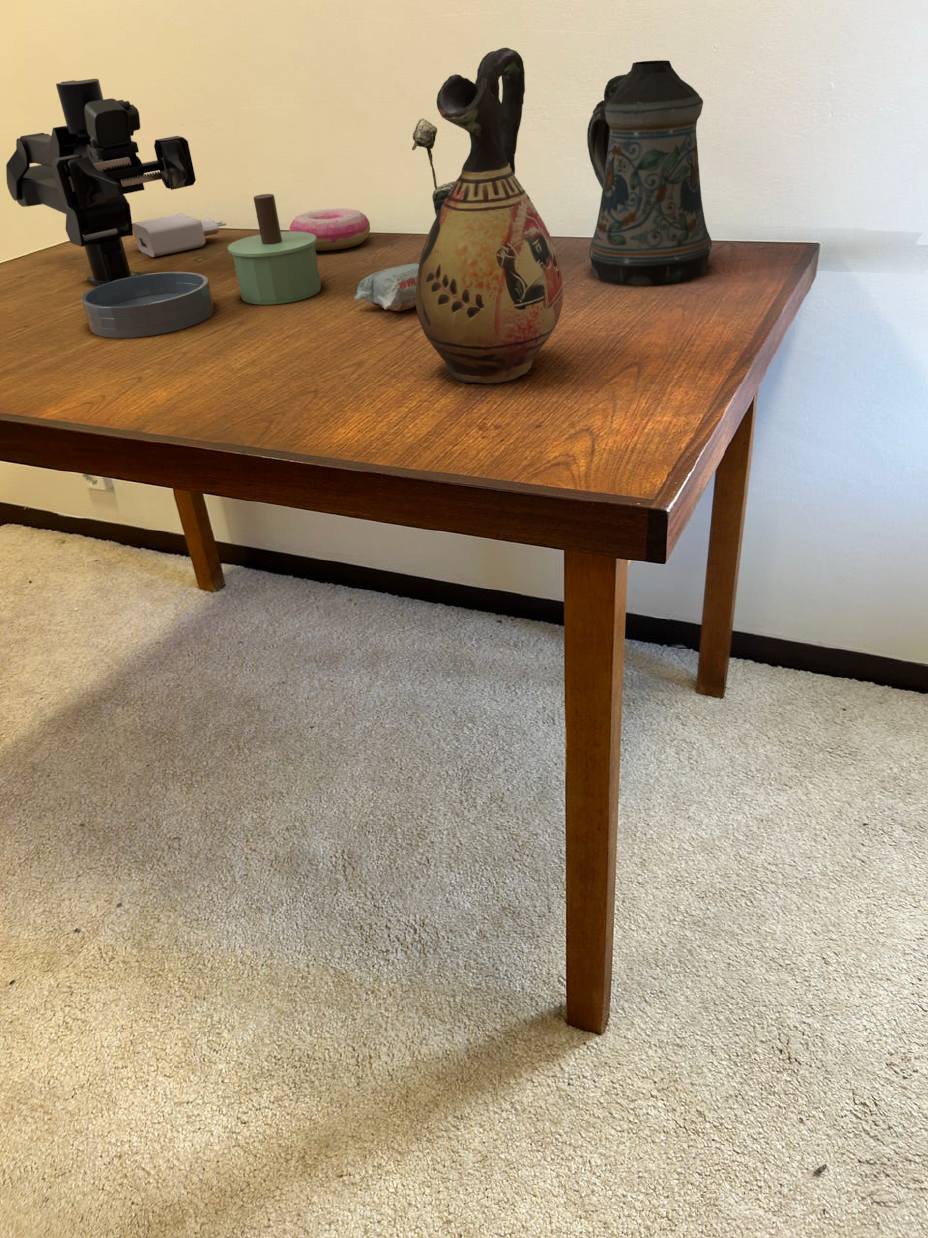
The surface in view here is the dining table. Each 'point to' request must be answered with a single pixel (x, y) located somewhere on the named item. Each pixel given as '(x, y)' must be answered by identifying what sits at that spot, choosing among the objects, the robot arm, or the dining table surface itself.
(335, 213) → the donut
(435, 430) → the dining table surface
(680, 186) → the beer stein
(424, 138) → the plant with pod
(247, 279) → the green cylinder
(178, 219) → the charger
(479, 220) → the ceramic jug
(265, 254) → the lid
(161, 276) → the pan
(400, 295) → the packaged food
